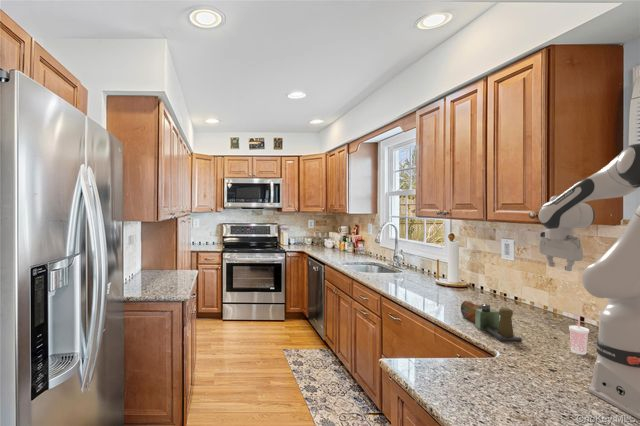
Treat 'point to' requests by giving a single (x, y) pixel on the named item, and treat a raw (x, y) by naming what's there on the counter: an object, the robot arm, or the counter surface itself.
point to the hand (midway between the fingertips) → (559, 268)
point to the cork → (505, 322)
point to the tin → (469, 310)
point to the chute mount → (491, 323)
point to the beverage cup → (578, 338)
